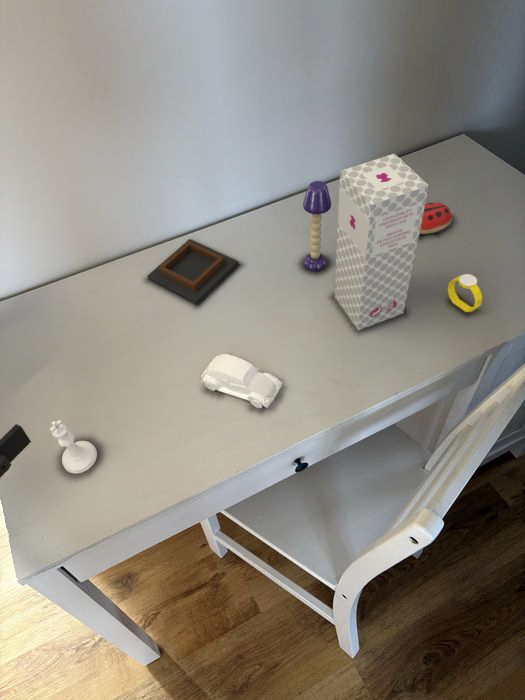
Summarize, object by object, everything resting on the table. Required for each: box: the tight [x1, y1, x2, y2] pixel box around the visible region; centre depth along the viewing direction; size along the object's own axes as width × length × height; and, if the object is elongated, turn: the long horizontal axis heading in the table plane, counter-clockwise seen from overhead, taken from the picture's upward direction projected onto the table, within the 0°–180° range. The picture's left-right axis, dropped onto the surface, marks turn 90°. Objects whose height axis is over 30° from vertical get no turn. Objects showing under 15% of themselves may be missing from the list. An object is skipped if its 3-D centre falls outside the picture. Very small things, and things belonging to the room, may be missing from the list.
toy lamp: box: [302, 180, 332, 272], centre depth 92 cm, size 5×5×17 cm
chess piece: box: [49, 419, 98, 474], centre depth 73 cm, size 5×5×10 cm
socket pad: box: [147, 238, 240, 306], centre depth 98 cm, size 12×12×2 cm
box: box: [334, 153, 430, 331], centre depth 81 cm, size 8×8×25 cm
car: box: [200, 353, 283, 409], centre depth 81 cm, size 12×6×5 cm, turn 61°
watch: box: [447, 273, 483, 313], centre depth 87 cm, size 6×3×6 cm, turn 34°
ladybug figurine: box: [419, 202, 454, 235], centre depth 101 cm, size 7×10×4 cm
